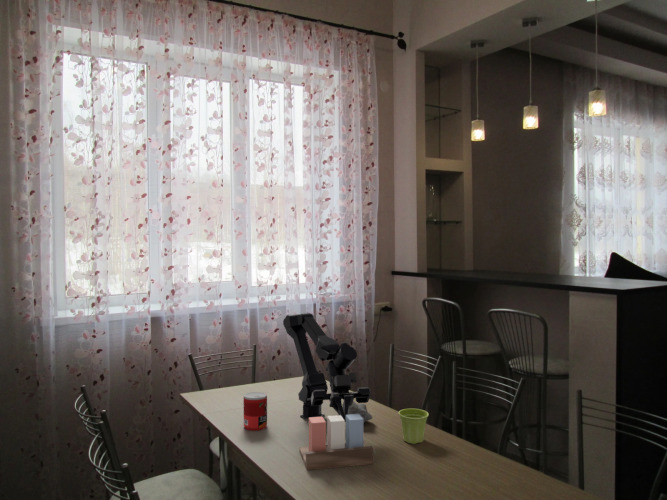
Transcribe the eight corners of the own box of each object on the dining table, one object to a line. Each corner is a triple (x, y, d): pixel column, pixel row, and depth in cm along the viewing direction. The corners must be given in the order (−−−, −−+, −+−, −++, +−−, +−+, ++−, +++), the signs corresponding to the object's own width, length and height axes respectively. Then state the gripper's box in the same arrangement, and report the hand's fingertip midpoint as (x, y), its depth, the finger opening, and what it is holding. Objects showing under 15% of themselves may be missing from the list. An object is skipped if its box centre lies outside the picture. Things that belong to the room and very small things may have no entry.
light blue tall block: (345, 448, 158) (345, 414, 157) (358, 447, 158) (358, 413, 158) (349, 455, 153) (349, 420, 152) (363, 453, 153) (363, 419, 153)
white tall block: (327, 450, 156) (327, 416, 156) (340, 449, 157) (340, 415, 157) (331, 456, 151) (330, 421, 151) (344, 455, 152) (344, 420, 152)
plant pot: (430, 437, 172) (430, 410, 172) (426, 447, 163) (426, 419, 163) (401, 433, 175) (401, 407, 175) (395, 444, 166) (395, 416, 166)
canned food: (263, 431, 177) (262, 398, 177) (240, 430, 179) (239, 397, 178) (270, 424, 185) (270, 392, 184) (248, 422, 186) (248, 391, 186)
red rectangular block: (308, 451, 155) (308, 417, 155) (322, 450, 156) (322, 416, 156) (311, 458, 150) (311, 423, 150) (325, 457, 151) (325, 422, 151)
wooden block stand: (299, 452, 160) (299, 437, 160) (361, 446, 164) (361, 432, 164) (306, 470, 147) (306, 453, 147) (373, 463, 151) (373, 447, 151)
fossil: (379, 425, 183) (379, 401, 183) (359, 430, 178) (358, 406, 178) (358, 416, 192) (358, 394, 192) (338, 421, 187) (338, 399, 187)
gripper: (312, 364, 169) (318, 411, 158) (369, 362, 172) (379, 407, 162) (308, 382, 176) (314, 428, 166) (363, 380, 180) (372, 423, 170)
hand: (345, 421), depth 166 cm, fingers closed
